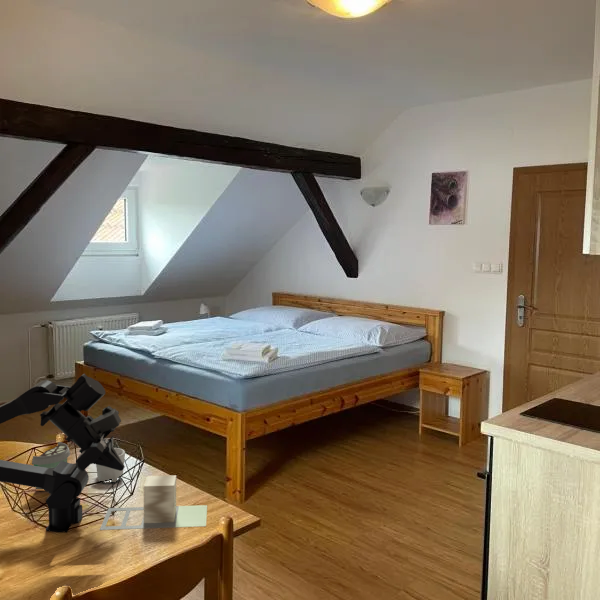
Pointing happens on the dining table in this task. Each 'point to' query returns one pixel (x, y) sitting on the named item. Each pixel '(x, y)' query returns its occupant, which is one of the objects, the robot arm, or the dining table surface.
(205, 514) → the plate
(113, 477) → the cup
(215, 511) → the dining table surface
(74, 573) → the dining table surface
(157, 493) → the block
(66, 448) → the food container
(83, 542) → the dining table surface
